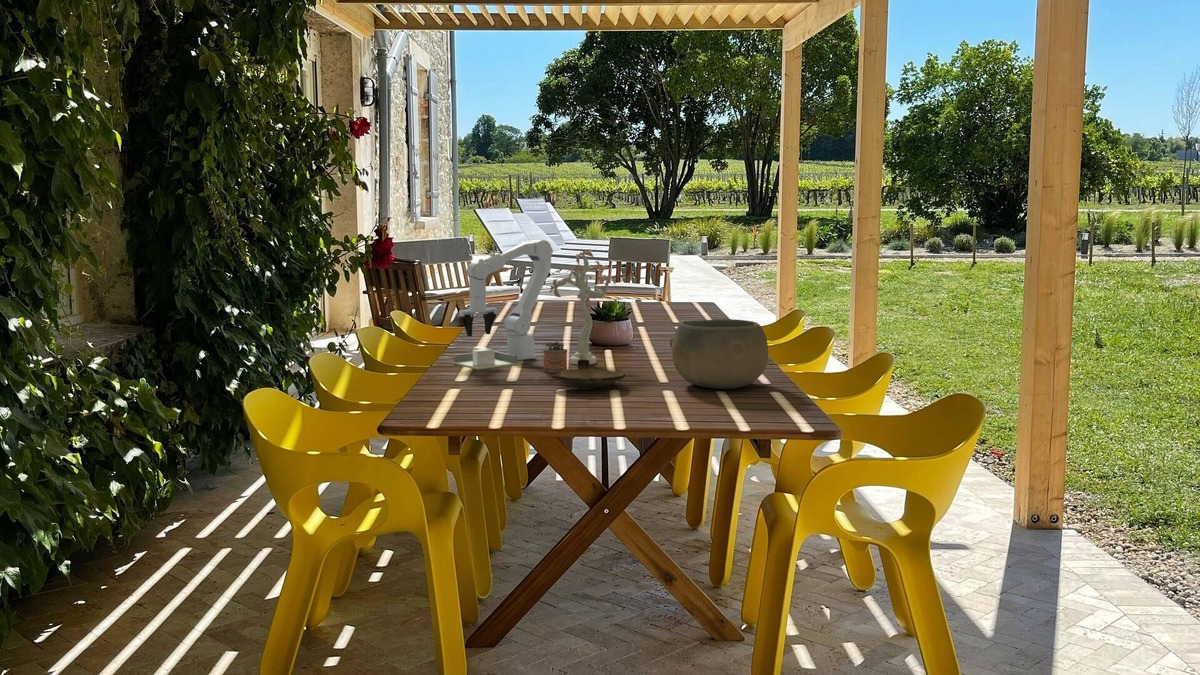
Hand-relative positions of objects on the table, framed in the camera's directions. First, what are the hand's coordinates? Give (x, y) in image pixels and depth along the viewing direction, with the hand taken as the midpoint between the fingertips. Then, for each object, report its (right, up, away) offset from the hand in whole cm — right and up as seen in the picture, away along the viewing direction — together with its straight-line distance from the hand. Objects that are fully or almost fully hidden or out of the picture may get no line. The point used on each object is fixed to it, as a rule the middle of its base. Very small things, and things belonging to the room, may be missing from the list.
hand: (478, 335), depth 351 cm
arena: (+2, -10, -2) cm, 11 cm away
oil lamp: (+40, -16, -43) cm, 61 cm away
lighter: (+28, -13, -17) cm, 35 cm away
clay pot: (+80, -16, -44) cm, 93 cm away
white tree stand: (+37, -10, +2) cm, 38 cm away
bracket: (+1, -10, -4) cm, 11 cm away
